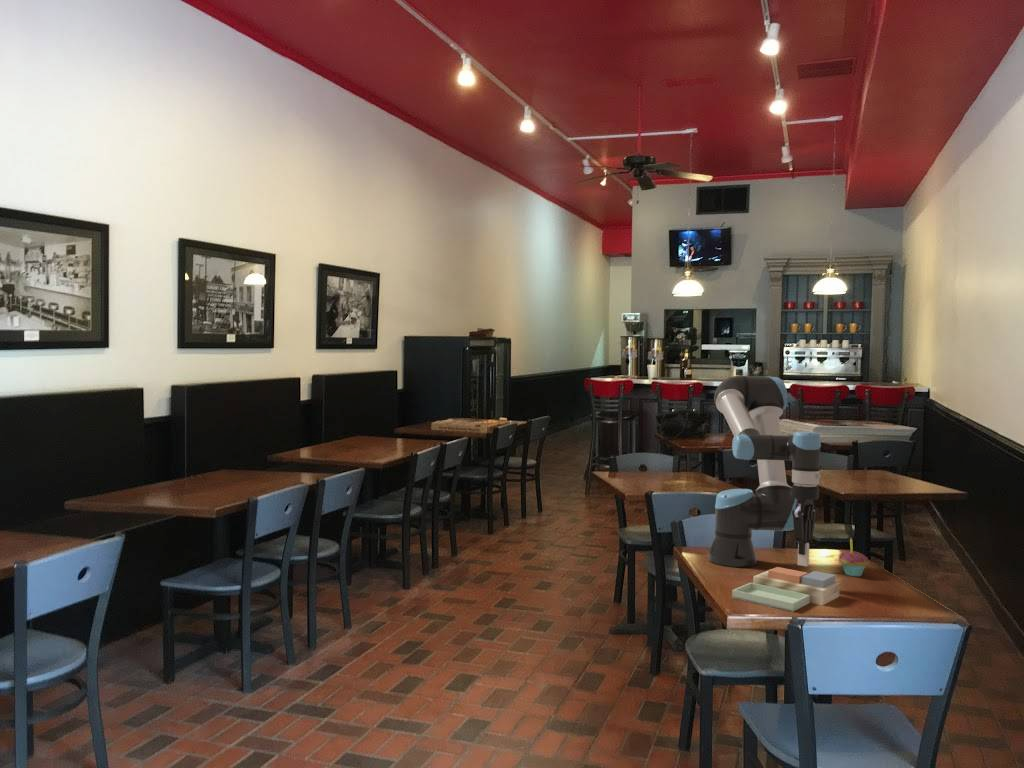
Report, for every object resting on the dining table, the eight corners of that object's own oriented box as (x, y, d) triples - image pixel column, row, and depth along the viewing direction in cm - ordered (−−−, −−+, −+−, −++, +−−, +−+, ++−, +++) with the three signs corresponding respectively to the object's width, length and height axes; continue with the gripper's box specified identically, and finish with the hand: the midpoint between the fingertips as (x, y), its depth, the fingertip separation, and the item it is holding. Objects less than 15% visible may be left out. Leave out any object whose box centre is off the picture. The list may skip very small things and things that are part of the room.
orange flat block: (768, 577, 234) (768, 570, 234) (777, 573, 239) (777, 566, 239) (799, 583, 228) (799, 576, 228) (807, 579, 233) (807, 572, 233)
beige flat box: (752, 590, 235) (753, 576, 235) (771, 582, 244) (771, 568, 244) (822, 605, 222) (823, 590, 222) (839, 596, 231) (839, 582, 231)
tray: (732, 598, 227) (732, 590, 227) (750, 590, 235) (750, 582, 235) (792, 611, 216) (793, 603, 216) (809, 603, 224) (809, 595, 224)
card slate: (823, 588, 224) (823, 580, 224) (801, 583, 228) (801, 576, 228) (835, 582, 231) (835, 574, 231) (814, 577, 235) (814, 570, 235)
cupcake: (859, 579, 250) (860, 540, 250) (832, 573, 256) (834, 535, 256) (873, 575, 255) (874, 536, 255) (847, 569, 262) (848, 531, 262)
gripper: (809, 488, 233) (806, 571, 234) (826, 484, 243) (824, 563, 243) (783, 485, 238) (781, 566, 239) (801, 481, 248) (799, 559, 248)
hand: (802, 565), depth 241 cm, fingers closed
